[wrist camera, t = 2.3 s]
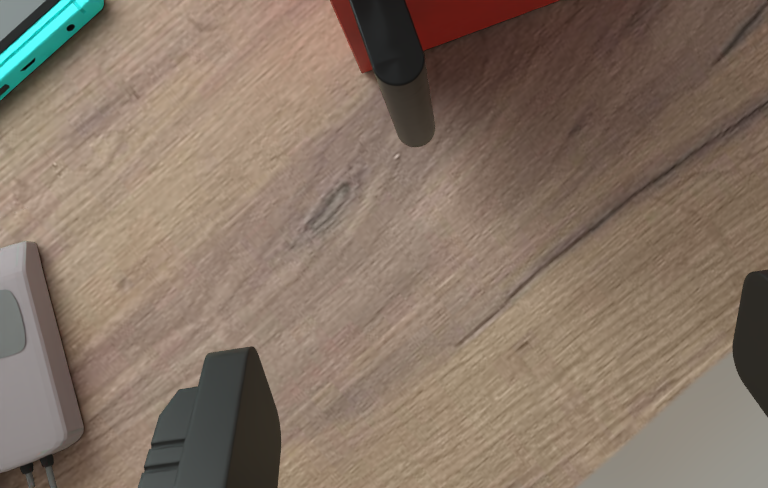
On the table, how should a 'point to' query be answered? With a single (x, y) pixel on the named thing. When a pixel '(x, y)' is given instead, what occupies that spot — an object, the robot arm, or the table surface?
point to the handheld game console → (37, 33)
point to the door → (414, 47)
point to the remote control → (32, 369)
